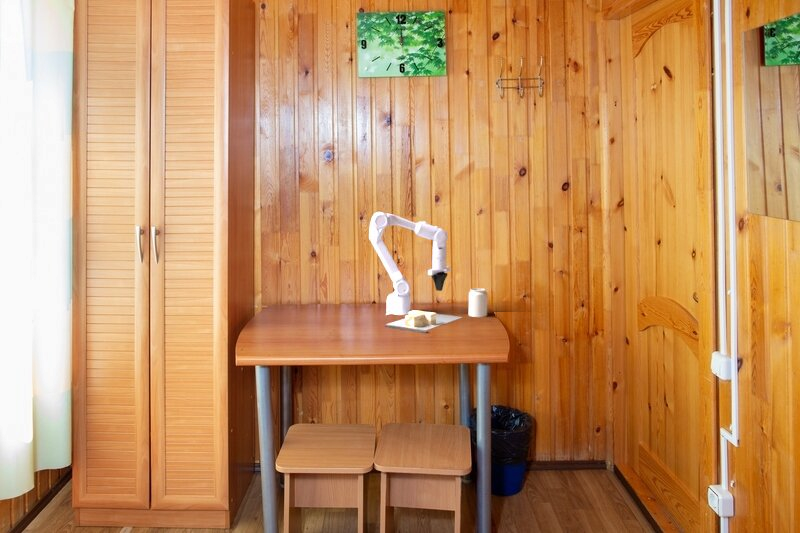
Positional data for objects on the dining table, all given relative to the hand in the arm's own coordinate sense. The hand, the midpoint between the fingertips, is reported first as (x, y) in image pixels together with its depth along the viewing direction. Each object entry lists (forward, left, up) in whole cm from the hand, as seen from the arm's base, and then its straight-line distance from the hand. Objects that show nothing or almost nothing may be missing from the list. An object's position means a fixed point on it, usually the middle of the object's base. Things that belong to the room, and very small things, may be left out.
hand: (439, 290), depth 274 cm
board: (+4, -17, -10) cm, 20 cm away
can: (+16, +4, -11) cm, 20 cm away
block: (+5, -24, -9) cm, 26 cm away
